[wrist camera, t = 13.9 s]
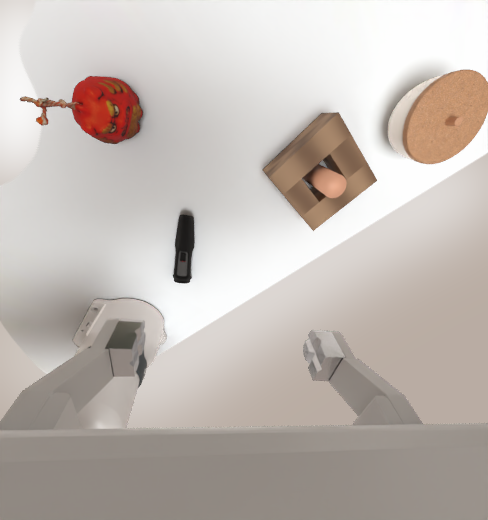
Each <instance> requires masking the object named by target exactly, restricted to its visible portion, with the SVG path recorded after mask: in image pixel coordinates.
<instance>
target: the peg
mask: <svg viewBox="0 0 488 520" xmlns="http://www.w3.org/2000/svg"><path fill="white" fill-rule="evenodd" d="M303 179H304V180H305V181H307V182H308V183H309V184H311V185H312V186H313V187H315V188H316V189H318V190H319V191H320V192H322V193H323V194H324V195H326V196H327V197H329V198H336V197H339V196H340V195H341V194H342V193H343V192H344V191H345V189H346V185H347V182H346V179H345V177H344V176H342V175H340V174H338V173H336V172H334V171H332V170H330V169H328V168H326V167H323V166H321V165H319V164H317V165H316V166H315V167H314V168H313V169H312V170H311V171H310V172H308V173H307V174H306V175H305V176H304V177H303Z"/></svg>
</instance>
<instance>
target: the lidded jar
mask: <svg viewBox="0 0 488 520" xmlns="http://www.w3.org/2000/svg"><path fill="white" fill-rule="evenodd" d="M487 112H488V82H487V81H486V79H485V78H484V77H483V76H482V75H481V74H480V73H478V72H476V71H473V70H459V71H455V72H451V73H448V74H445V75H441V76H437V77H434V78H432V79H429V80H427V81H425V82H423V83H421V84H419V85H417V86H416V87H414V88H413V89H412V90H410V91H409V92H408V93H407V94H406V95H405V96H404V97H403V98H402V99H401V100H400V101H399V102H398V104H397V105H396V107H395V108H394V110H393V112H392V114H391V117H390V119H389V123H388V138H389V142H390V144H391V146H392V147H393V149H394V150H395V151H396V152H397V153H399V154H400V155H402V156H404V157H406V158H408V159H411V160H414V161H417V162H420V163H424V164H435V163H440V162H443V161H445V160H447V159H449V158H451V157H453V156H454V155H456V154H457V153H459V152H460V151H461V150H463V149H464V148H465V147H466V146H467V145H468V144H469V143H470V142H471V141H472V139H473V138H474V137H475V136H476V134H477V133H478V131H479V130H480V128H481V126H482V125H483V123H484V120H485V118H486V115H487Z"/></svg>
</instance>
